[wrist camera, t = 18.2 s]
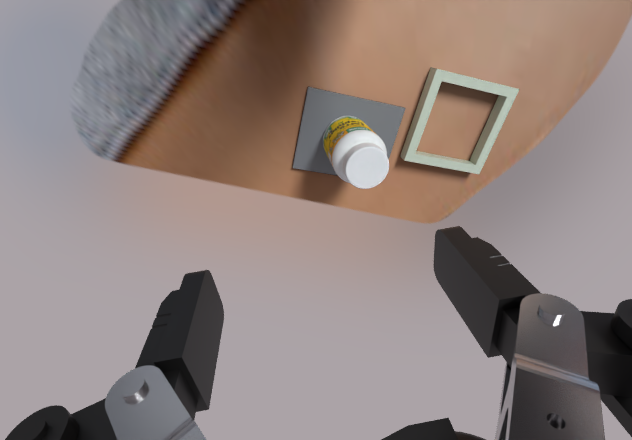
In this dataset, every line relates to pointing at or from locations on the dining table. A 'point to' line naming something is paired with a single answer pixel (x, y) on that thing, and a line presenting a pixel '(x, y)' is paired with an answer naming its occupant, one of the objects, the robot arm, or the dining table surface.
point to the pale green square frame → (489, 130)
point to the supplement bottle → (356, 152)
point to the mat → (330, 107)
